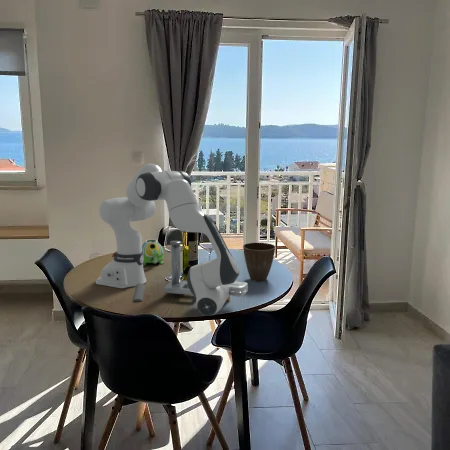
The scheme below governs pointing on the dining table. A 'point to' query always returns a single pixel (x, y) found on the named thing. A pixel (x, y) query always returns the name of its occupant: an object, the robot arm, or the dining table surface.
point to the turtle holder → (152, 252)
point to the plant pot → (258, 260)
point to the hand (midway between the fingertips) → (225, 280)
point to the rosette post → (176, 273)
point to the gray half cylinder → (139, 292)
